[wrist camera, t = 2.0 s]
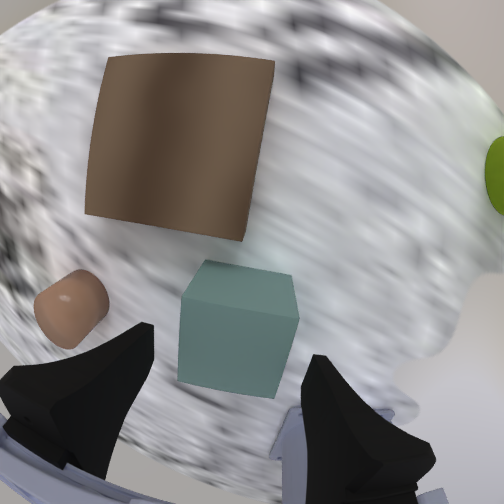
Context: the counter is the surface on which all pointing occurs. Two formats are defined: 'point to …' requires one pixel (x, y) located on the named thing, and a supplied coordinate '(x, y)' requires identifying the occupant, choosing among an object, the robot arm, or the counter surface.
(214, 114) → the base
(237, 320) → the cube
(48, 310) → the tan round knob
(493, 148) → the soap dispenser
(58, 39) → the counter surface
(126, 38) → the counter surface
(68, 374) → the robot arm
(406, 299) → the counter surface
